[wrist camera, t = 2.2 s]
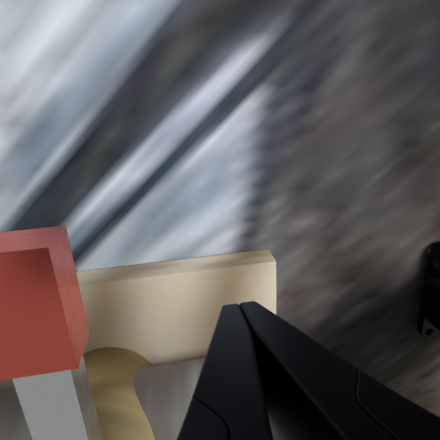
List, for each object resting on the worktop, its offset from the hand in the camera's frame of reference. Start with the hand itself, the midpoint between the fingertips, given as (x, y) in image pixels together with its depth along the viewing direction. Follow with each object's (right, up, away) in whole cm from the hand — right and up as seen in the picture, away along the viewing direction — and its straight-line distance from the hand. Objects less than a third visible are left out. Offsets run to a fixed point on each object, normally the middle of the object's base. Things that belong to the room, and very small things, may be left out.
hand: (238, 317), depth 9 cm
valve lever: (-6, -3, +3) cm, 7 cm away
